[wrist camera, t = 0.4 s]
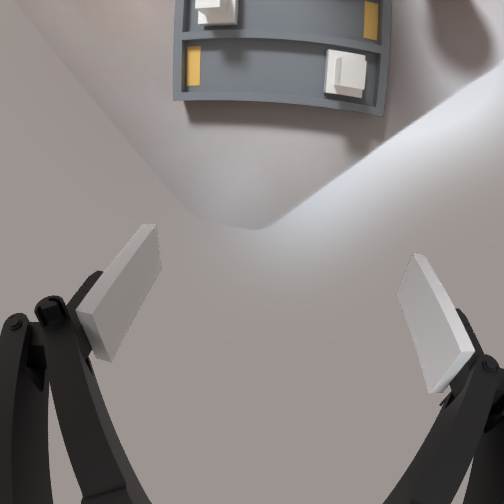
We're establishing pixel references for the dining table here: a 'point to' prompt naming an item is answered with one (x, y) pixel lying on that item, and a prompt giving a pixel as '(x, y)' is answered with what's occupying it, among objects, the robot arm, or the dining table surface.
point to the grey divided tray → (282, 52)
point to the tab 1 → (217, 12)
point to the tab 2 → (344, 73)
